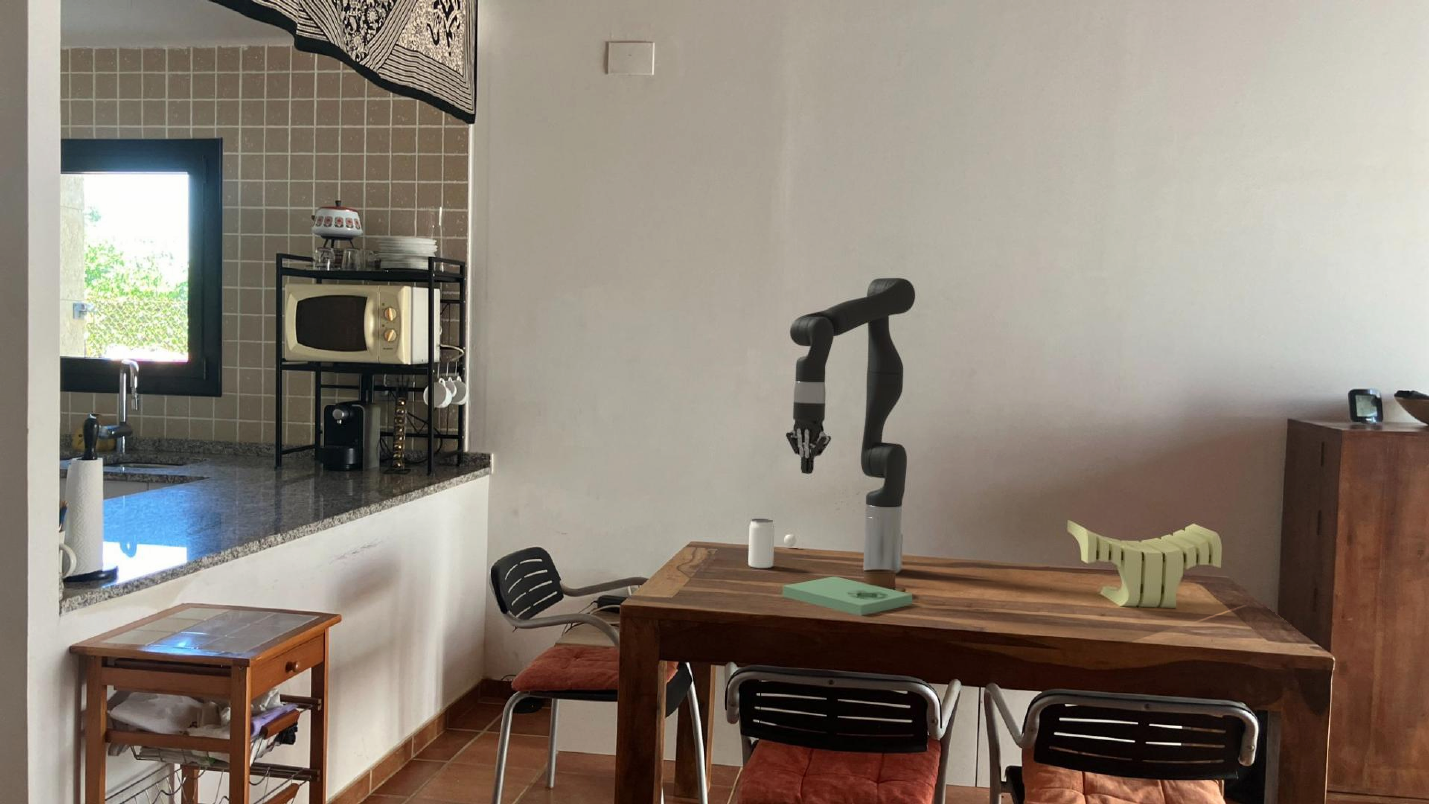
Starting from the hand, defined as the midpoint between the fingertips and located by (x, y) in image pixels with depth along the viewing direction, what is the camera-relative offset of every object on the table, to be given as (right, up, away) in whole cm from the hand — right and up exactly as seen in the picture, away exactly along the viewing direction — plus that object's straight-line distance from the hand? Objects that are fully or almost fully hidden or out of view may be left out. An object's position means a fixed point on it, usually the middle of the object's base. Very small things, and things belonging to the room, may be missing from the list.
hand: (806, 473), depth 266 cm
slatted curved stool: (+77, -30, -6) cm, 83 cm away
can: (-10, -26, +23) cm, 36 cm away
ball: (-1, -23, +52) cm, 57 cm away
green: (+8, -28, -14) cm, 32 cm away
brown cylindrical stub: (+17, -29, -5) cm, 34 cm away
